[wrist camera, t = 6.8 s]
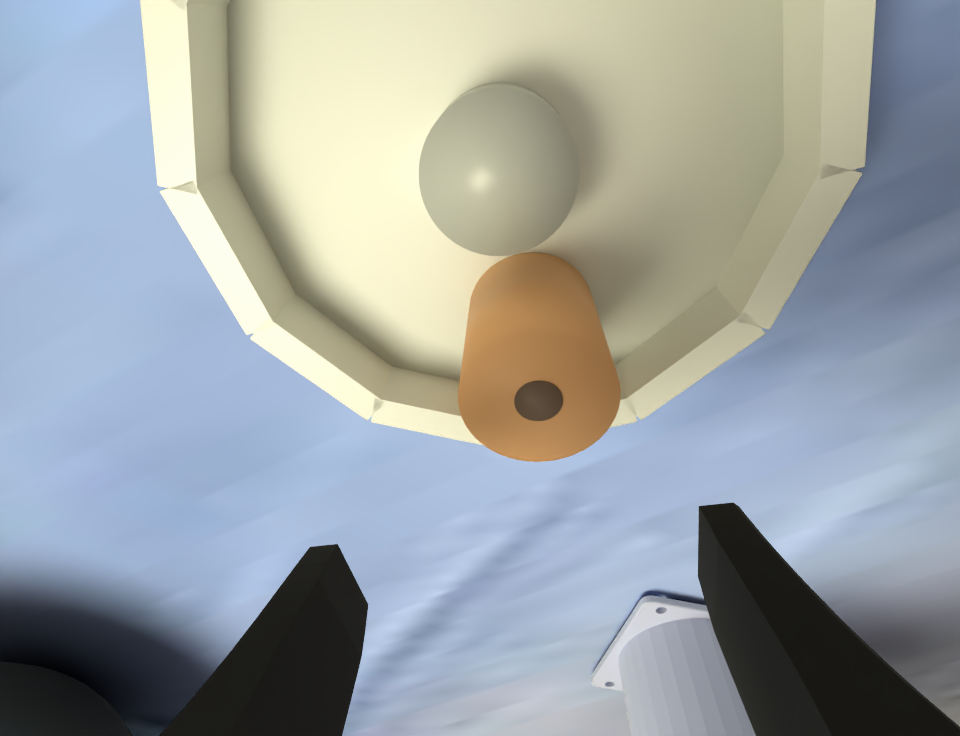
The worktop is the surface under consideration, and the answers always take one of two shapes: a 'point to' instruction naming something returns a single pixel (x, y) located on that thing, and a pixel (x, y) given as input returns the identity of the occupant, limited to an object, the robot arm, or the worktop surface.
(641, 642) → the robot arm
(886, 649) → the worktop surface
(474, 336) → the bead
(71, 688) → the bowl of black rocks
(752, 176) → the tray
